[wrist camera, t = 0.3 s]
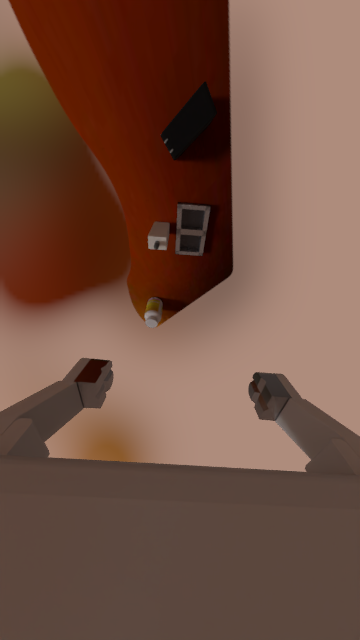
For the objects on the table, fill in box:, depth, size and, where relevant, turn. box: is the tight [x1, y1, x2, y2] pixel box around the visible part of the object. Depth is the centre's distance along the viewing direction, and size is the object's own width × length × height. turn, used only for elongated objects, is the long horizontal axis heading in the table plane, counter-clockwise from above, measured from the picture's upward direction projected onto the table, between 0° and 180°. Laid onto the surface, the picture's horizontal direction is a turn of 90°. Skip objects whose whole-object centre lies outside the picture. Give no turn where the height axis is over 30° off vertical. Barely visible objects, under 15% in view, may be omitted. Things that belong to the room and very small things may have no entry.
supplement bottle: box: [144, 297, 163, 328], centre depth 66 cm, size 7×7×13 cm
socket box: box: [175, 202, 210, 256], centre depth 49 cm, size 9×14×3 cm, turn 176°
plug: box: [148, 222, 170, 250], centre depth 44 cm, size 4×3×17 cm, turn 86°
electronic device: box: [161, 81, 217, 160], centre depth 33 cm, size 4×10×10 cm, turn 127°
